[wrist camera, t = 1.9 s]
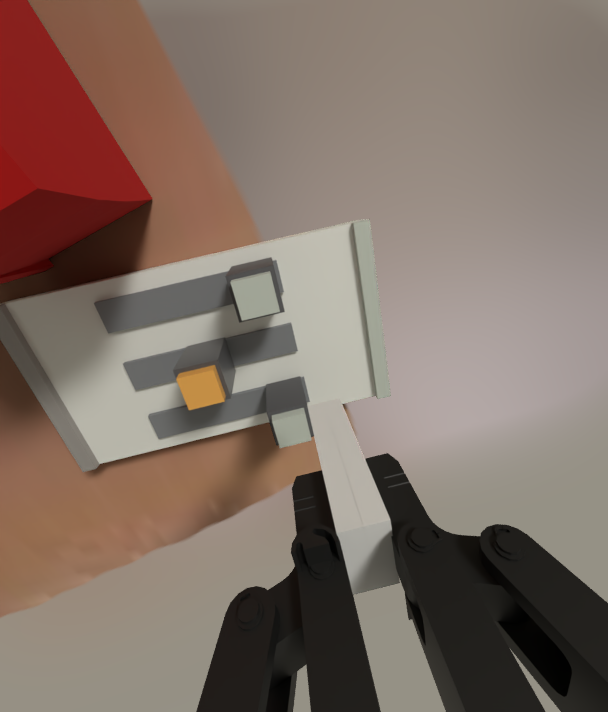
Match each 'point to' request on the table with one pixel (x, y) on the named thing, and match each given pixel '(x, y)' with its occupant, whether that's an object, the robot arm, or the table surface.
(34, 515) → the table surface
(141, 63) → the table surface
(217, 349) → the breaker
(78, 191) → the red rectangular box
